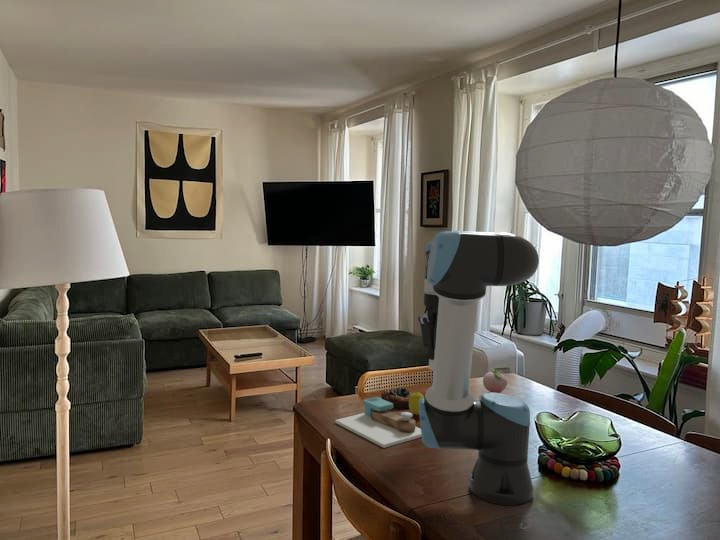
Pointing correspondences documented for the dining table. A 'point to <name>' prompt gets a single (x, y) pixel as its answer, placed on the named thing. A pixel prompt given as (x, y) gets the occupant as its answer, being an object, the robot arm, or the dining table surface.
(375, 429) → the plate
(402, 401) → the pastry
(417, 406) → the lemon
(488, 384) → the decorative fruit
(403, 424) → the walnut link
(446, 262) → the robot arm
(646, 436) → the dining table surface
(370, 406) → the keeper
